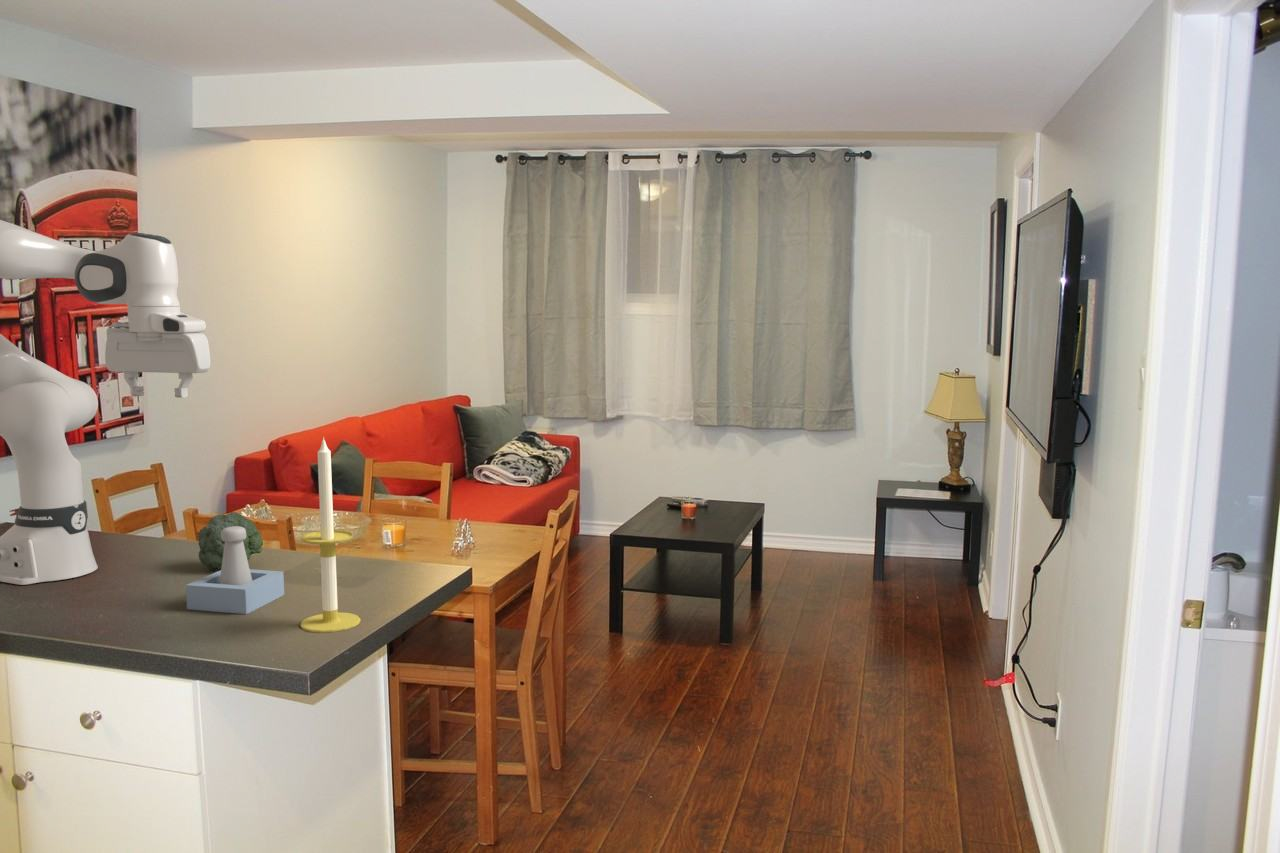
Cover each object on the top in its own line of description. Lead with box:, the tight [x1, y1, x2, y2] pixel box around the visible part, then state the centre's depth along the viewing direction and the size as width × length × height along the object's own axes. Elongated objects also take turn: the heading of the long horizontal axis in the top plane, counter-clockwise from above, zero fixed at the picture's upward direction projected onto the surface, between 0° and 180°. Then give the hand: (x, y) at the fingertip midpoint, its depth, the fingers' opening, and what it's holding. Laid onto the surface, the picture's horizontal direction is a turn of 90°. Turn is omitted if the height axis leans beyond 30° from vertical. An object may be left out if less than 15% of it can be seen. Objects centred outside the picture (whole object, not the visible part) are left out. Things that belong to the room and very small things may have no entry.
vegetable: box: [198, 511, 264, 571], centre depth 213 cm, size 12×13×15 cm
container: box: [185, 568, 285, 615], centre depth 189 cm, size 12×12×4 cm
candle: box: [300, 436, 361, 634], centre depth 175 cm, size 10×10×32 cm
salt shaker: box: [219, 526, 253, 586], centre depth 188 cm, size 6×6×13 cm
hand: (159, 396), depth 192 cm, fingers open, 8 cm apart
